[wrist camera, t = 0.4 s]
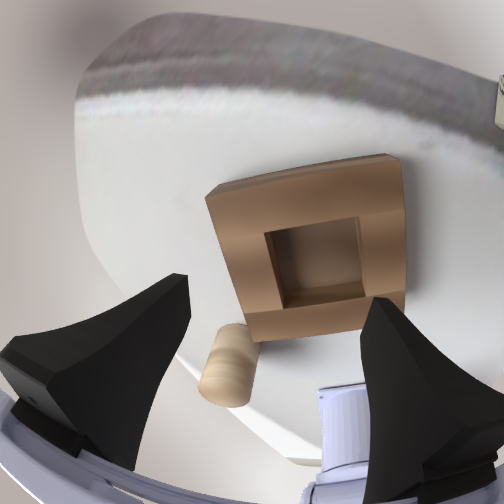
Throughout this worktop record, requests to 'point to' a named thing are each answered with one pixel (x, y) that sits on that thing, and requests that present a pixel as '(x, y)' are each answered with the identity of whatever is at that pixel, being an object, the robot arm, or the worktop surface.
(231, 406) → the pin
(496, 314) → the worktop surface
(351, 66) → the worktop surface
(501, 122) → the box
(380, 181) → the socket block
